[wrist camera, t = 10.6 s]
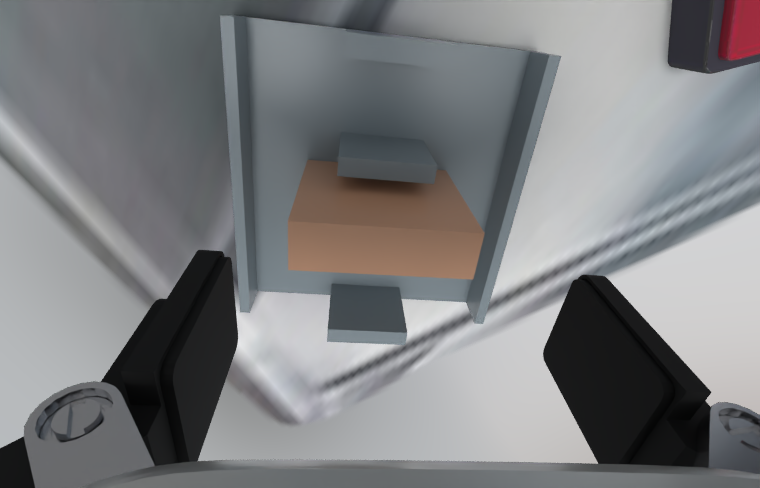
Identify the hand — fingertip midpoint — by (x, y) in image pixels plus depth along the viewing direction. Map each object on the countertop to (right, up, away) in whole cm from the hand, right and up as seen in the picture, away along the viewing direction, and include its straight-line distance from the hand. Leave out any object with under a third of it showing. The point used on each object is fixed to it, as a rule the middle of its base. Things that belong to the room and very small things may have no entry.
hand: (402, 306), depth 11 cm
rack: (-1, +5, +11) cm, 12 cm away
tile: (-1, +5, +10) cm, 11 cm away
